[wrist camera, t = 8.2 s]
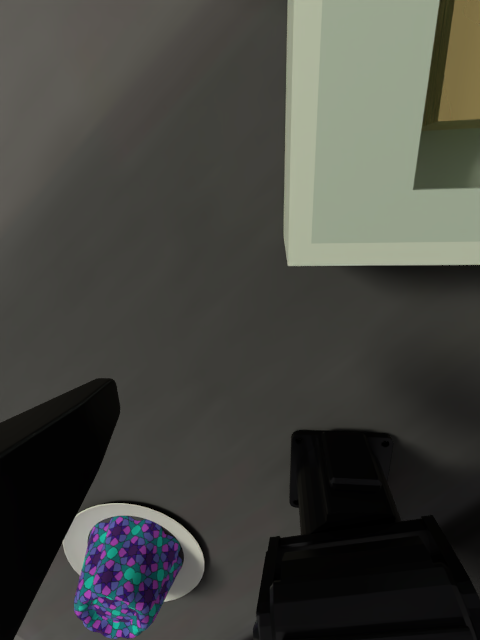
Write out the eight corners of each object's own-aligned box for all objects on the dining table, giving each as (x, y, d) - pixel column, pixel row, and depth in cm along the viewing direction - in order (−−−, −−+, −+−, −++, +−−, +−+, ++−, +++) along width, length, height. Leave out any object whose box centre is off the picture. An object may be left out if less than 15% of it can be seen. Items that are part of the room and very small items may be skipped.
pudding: (231, 536, 29) (222, 608, 24) (170, 610, 33) (153, 684, 29) (94, 472, 28) (56, 535, 23) (50, 558, 32) (10, 626, 27)
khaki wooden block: (479, 127, 16) (530, 116, 13) (405, 131, 17) (438, 121, 13) (502, 2, 15) (567, -47, 11) (419, 10, 15) (459, -37, 12)
